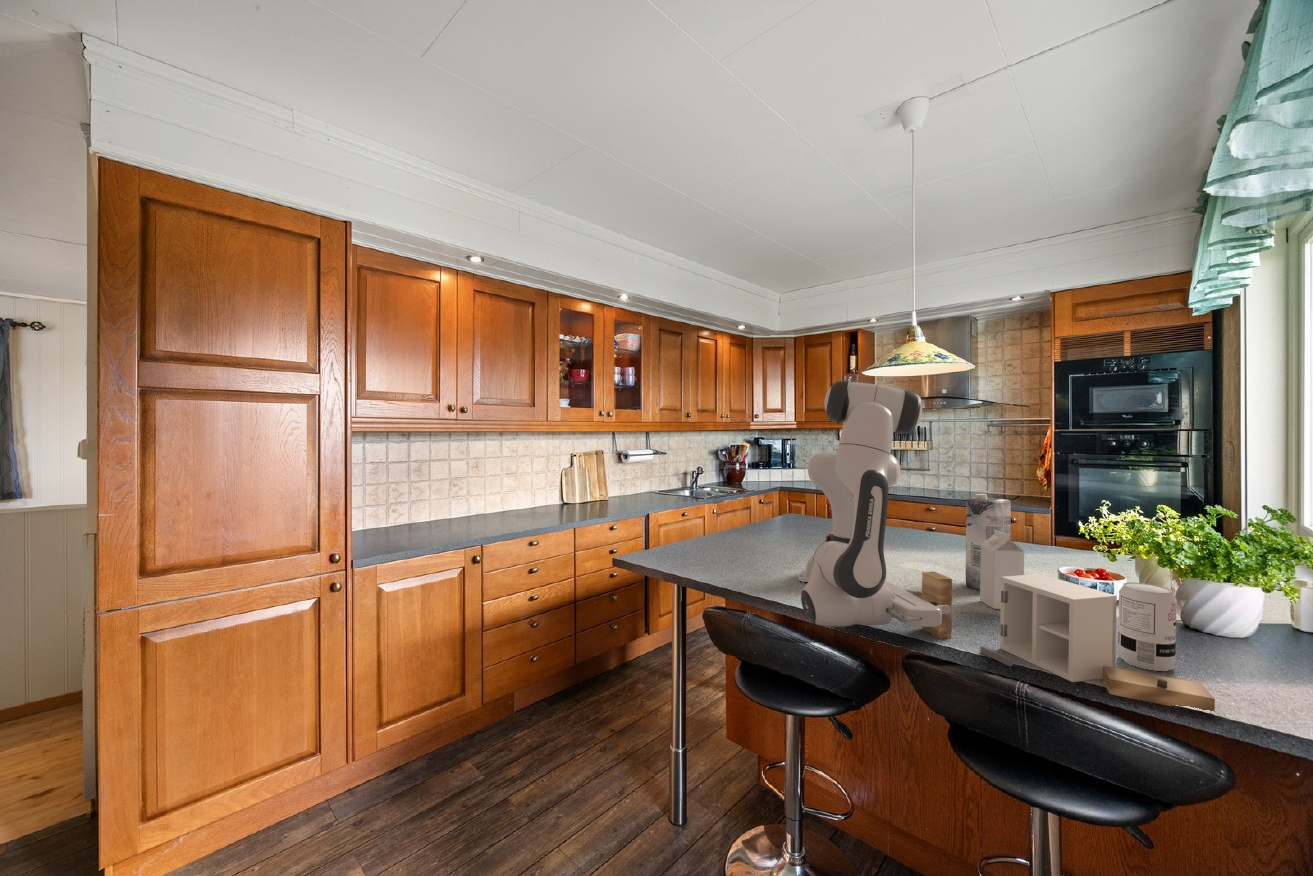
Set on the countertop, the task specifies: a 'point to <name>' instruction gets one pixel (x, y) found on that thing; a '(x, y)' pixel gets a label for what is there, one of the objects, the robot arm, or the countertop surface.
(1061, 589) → the carcass
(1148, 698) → the door
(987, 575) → the milk carton
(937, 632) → the oak door
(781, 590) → the countertop surface
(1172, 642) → the supplement can
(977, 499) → the juice carton
